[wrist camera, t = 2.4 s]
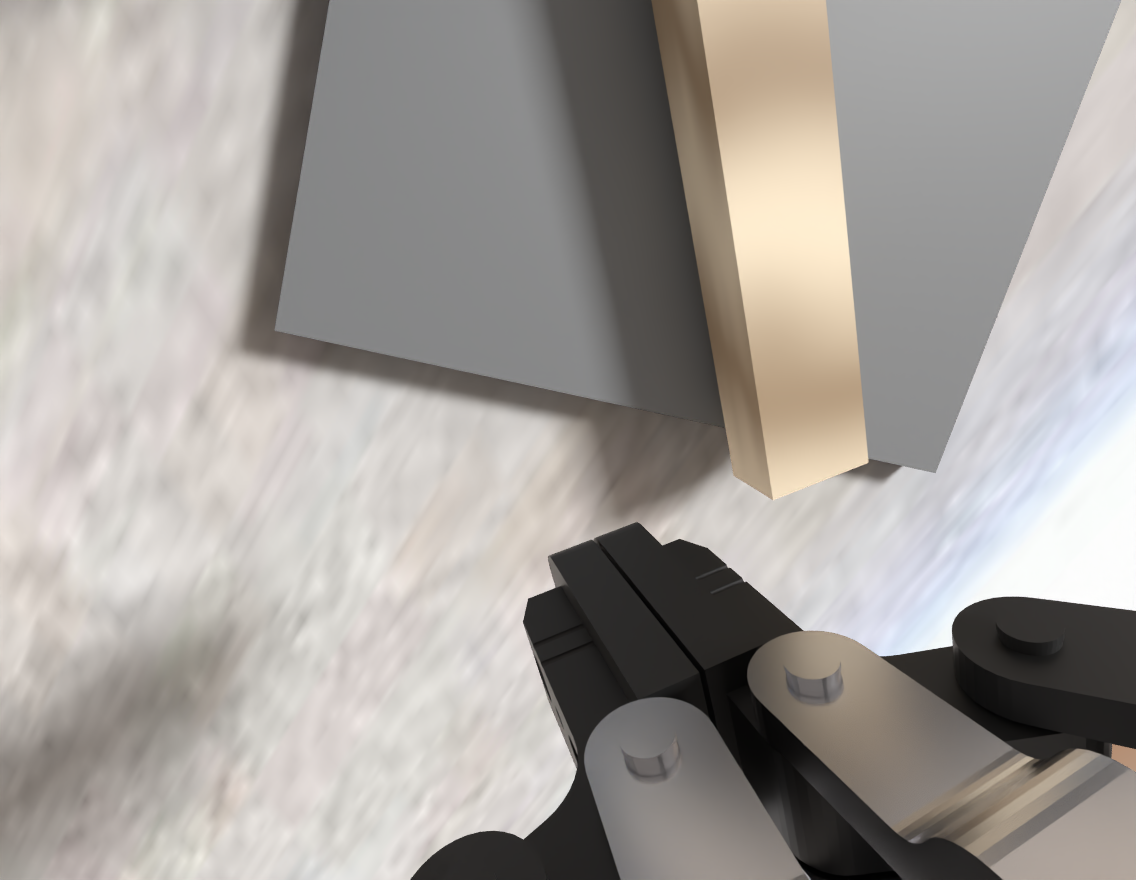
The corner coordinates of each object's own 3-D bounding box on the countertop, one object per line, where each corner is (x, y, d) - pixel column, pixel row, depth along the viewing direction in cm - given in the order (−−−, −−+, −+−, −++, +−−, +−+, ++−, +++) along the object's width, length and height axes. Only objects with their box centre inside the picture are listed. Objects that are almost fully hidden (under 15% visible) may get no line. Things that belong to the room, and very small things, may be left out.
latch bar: (509, -549, 12) (546, -746, 10) (722, -555, 13) (804, -737, 10) (705, 479, 19) (754, 511, 17) (832, 431, 20) (895, 456, 18)
